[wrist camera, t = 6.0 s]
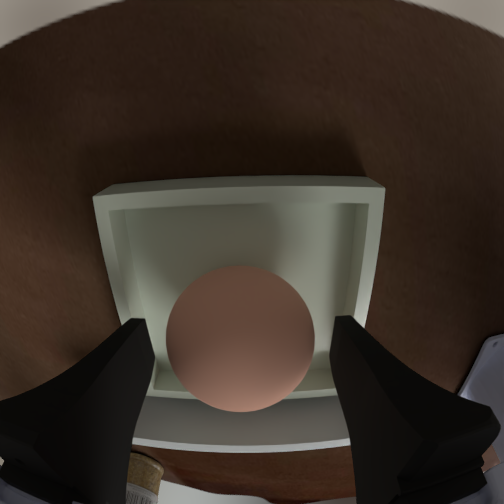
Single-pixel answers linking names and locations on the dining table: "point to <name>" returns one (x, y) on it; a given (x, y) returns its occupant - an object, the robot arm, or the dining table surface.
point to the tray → (242, 250)
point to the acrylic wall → (242, 426)
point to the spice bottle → (143, 480)
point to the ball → (240, 338)
